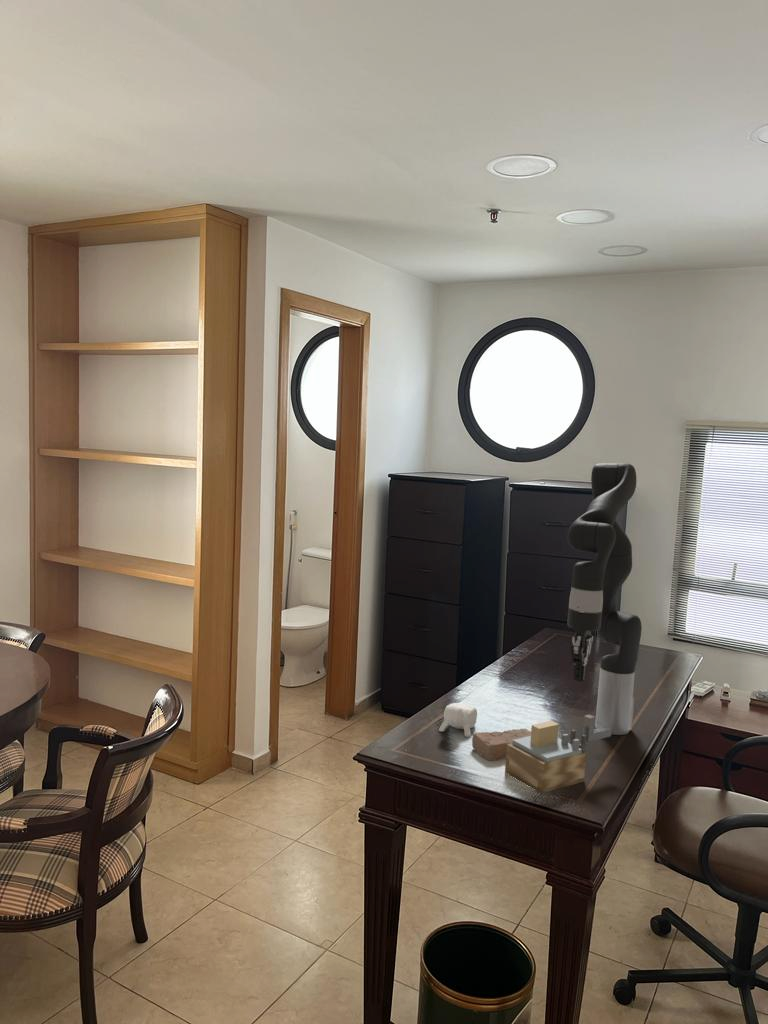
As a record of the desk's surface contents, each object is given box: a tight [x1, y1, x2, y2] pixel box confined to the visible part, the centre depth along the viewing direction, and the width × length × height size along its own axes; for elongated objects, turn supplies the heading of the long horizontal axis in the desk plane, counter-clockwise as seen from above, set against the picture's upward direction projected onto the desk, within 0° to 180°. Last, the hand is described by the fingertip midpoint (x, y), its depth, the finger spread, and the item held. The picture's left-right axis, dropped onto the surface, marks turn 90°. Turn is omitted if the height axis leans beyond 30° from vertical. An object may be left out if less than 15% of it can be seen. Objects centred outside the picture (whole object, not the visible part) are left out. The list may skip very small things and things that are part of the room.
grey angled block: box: [582, 714, 612, 743], centre depth 188 cm, size 8×2×6 cm, turn 123°
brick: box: [471, 728, 531, 761], centre depth 199 cm, size 17×8×5 cm, turn 115°
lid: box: [512, 720, 582, 762], centre depth 184 cm, size 11×11×6 cm
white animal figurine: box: [438, 702, 478, 738], centre depth 210 cm, size 9×8×15 cm
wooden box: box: [504, 729, 587, 794], centre depth 185 cm, size 14×12×11 cm
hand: (578, 680), depth 183 cm, fingers closed
